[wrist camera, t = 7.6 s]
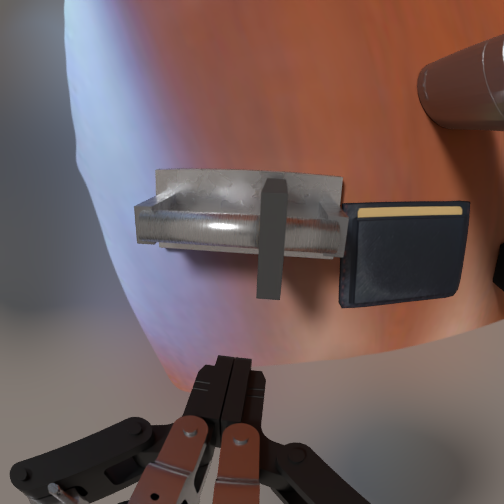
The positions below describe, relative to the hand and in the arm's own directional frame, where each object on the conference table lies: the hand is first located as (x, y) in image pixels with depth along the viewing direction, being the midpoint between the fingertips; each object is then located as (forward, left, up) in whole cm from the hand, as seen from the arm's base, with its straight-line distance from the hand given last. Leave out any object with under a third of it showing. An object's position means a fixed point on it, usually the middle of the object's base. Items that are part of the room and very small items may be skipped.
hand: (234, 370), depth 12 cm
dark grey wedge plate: (-1, -1, -21) cm, 21 cm away
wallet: (-20, +3, -25) cm, 32 cm away
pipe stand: (+2, -1, -24) cm, 25 cm away
